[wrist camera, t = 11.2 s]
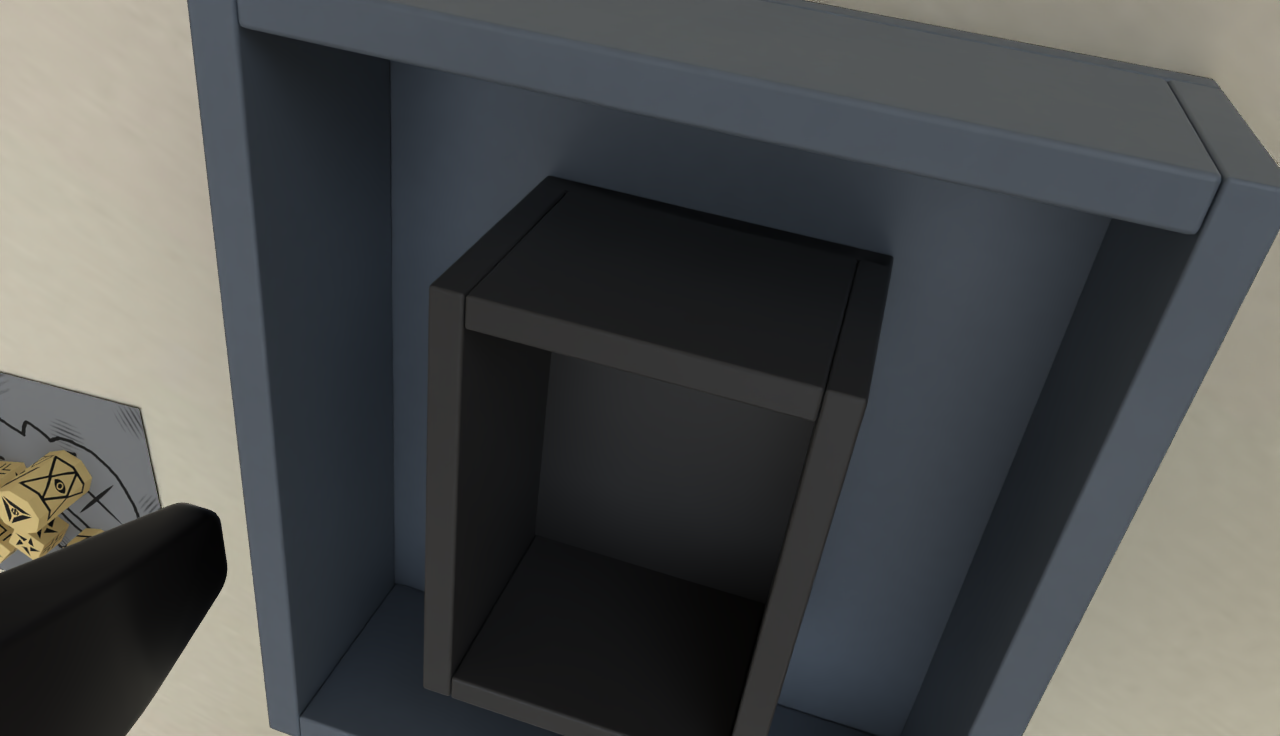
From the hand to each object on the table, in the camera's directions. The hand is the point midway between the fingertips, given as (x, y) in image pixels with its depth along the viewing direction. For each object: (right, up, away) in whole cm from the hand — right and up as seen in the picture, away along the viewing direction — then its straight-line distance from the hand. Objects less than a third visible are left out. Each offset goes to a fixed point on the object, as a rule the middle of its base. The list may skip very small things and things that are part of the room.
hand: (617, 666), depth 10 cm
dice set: (-17, -1, +20) cm, 26 cm away
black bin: (+1, +2, +11) cm, 11 cm away
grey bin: (+1, +2, +11) cm, 12 cm away
